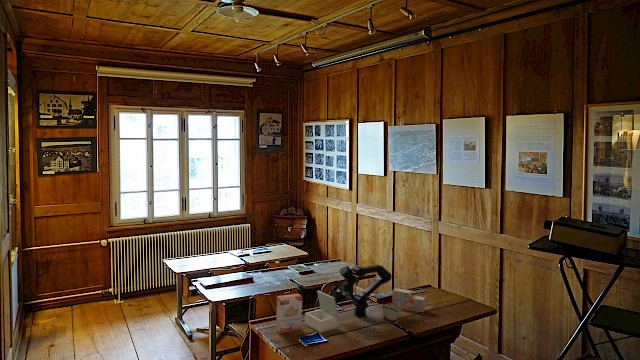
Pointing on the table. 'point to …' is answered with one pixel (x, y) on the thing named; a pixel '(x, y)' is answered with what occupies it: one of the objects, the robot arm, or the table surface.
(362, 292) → the robot arm
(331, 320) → the chest
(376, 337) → the table surface
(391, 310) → the food container
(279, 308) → the cracker box
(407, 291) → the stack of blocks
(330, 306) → the chest lid
